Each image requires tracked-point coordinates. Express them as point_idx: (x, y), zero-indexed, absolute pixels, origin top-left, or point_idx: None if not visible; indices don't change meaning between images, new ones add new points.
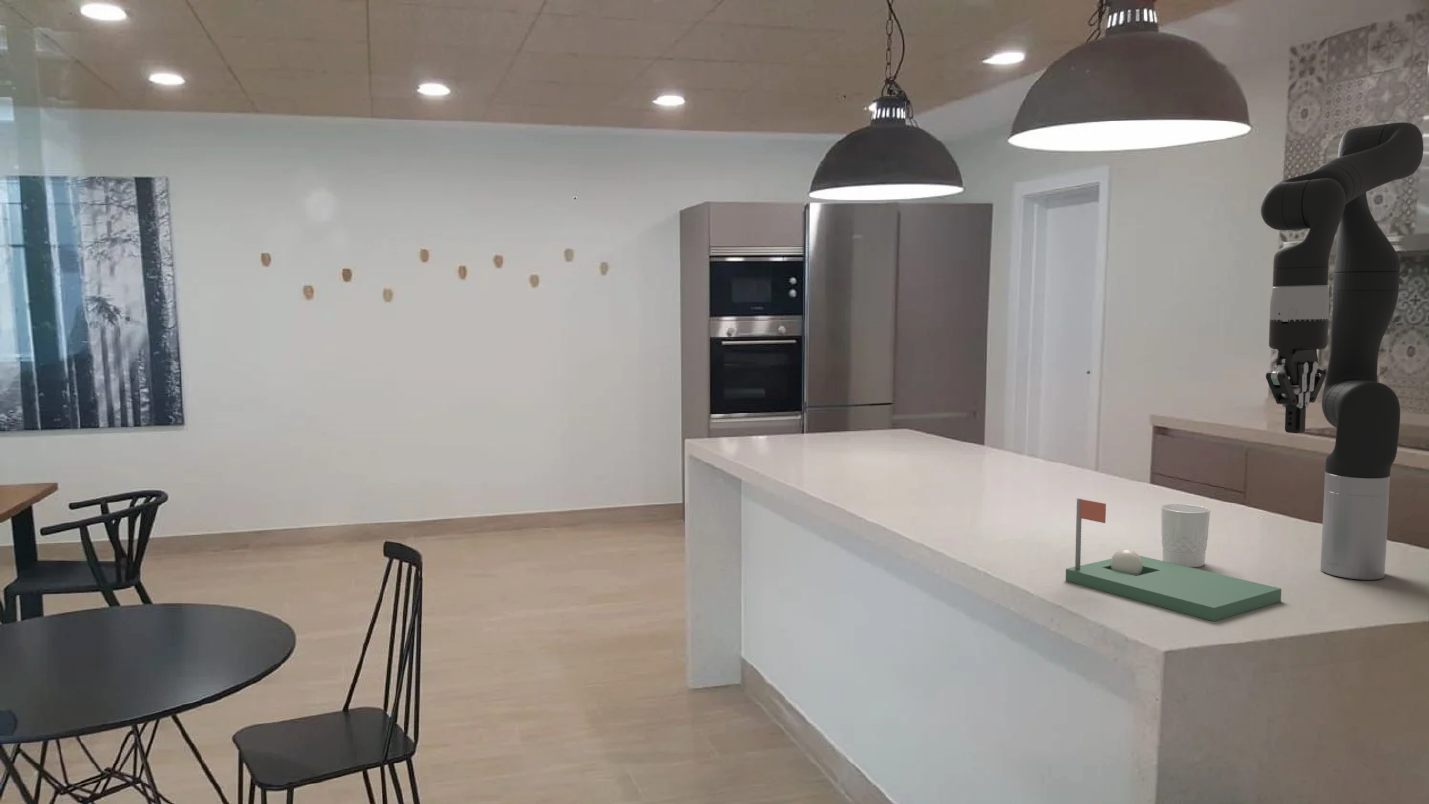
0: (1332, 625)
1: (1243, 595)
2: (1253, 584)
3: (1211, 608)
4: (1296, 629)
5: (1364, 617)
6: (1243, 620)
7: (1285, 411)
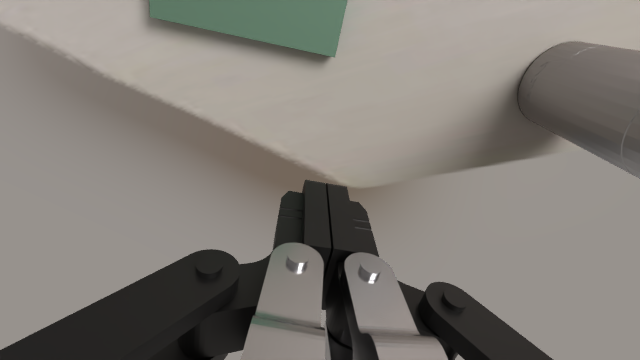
0: (269, 133)
1: (253, 26)
2: (330, 15)
3: (150, 12)
4: (218, 109)
5: (330, 150)
6: (200, 46)
7: (305, 230)
